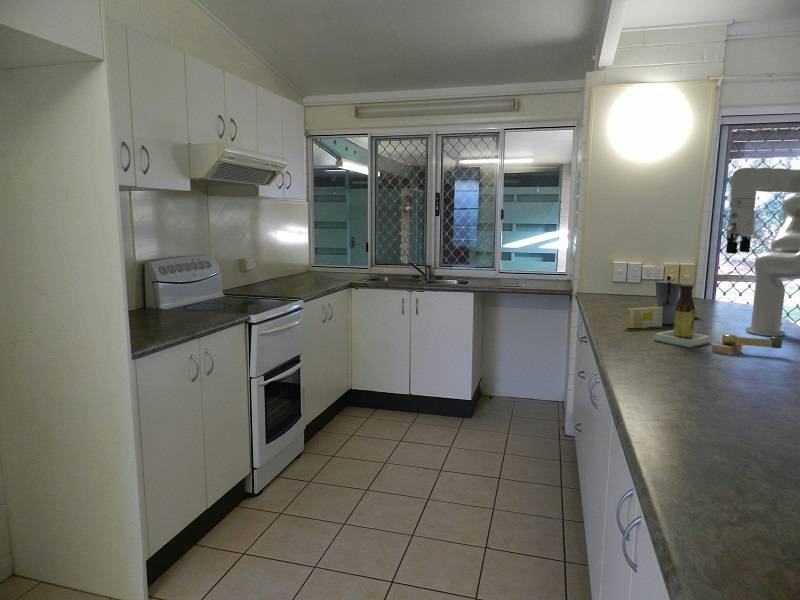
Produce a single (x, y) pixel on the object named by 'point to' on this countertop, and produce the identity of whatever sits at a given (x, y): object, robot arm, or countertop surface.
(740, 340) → the lever
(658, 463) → the countertop surface
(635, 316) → the candy box
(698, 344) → the tray
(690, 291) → the sauce bottle
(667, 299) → the moka pot
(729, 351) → the orange brown block
